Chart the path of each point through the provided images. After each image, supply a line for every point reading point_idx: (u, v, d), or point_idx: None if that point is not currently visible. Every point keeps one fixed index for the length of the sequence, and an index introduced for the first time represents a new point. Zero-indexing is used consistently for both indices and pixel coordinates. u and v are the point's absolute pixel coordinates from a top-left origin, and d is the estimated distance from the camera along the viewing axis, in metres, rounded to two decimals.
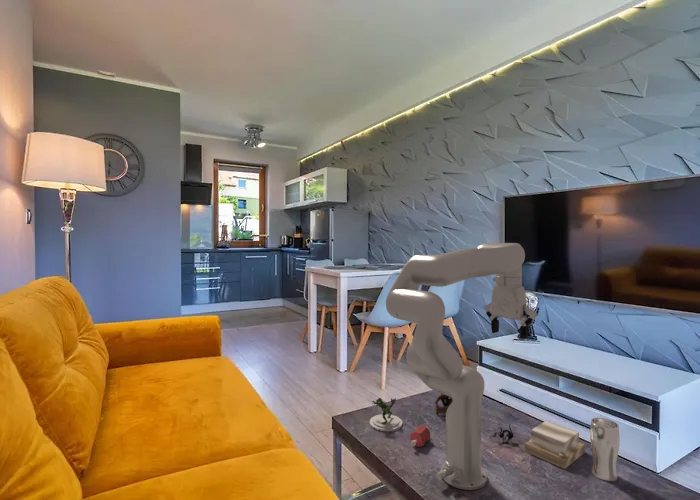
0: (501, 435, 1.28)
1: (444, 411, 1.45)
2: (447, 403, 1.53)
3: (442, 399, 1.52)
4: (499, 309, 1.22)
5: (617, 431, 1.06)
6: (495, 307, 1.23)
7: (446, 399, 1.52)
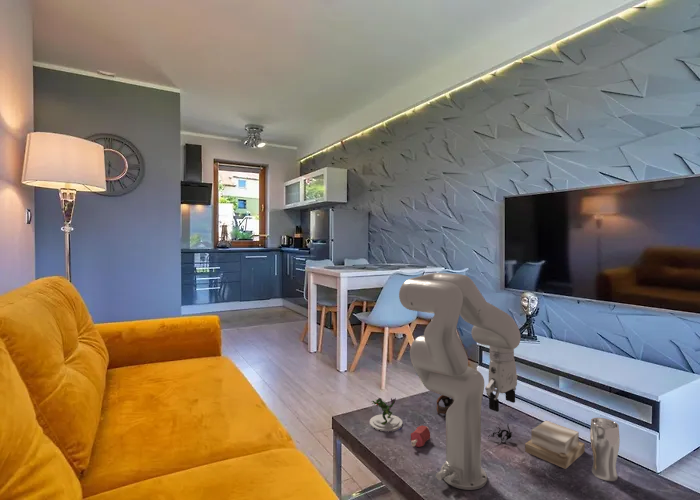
0: (499, 435, 1.28)
1: (445, 411, 1.45)
2: (448, 403, 1.53)
3: (443, 399, 1.52)
4: (507, 384, 1.25)
5: (617, 431, 1.06)
6: (504, 384, 1.24)
7: (447, 399, 1.52)
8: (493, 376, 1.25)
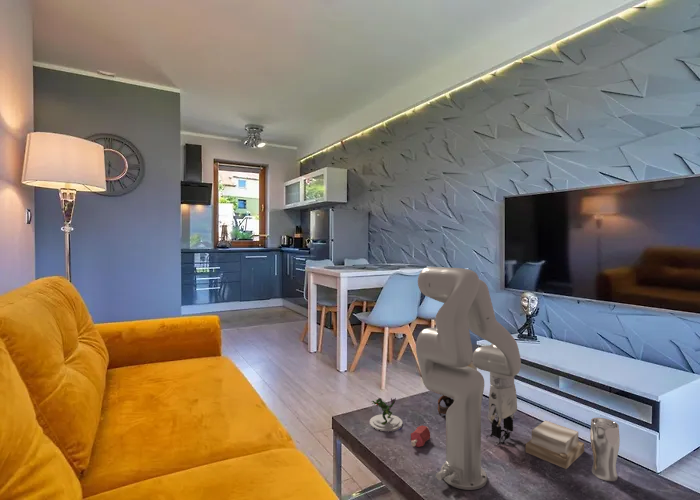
0: None
1: None
2: (449, 403, 1.53)
3: (444, 399, 1.52)
4: (507, 410, 1.25)
5: (617, 431, 1.06)
6: (504, 410, 1.24)
7: (448, 399, 1.52)
8: (493, 403, 1.25)
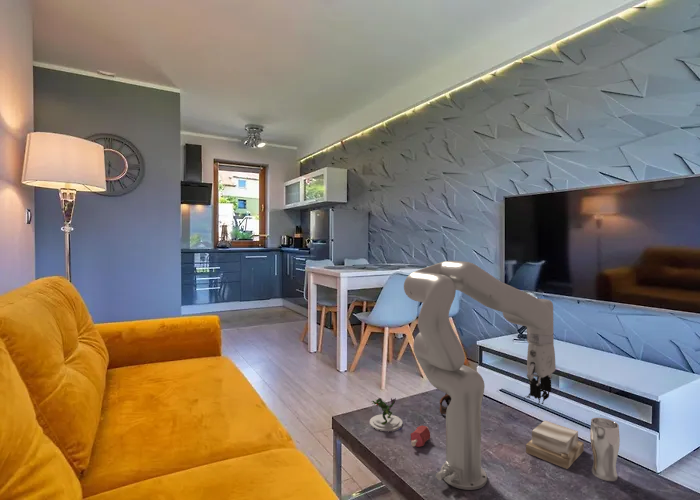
0: None
1: None
2: None
3: (446, 399, 1.52)
4: (547, 368, 1.19)
5: (617, 431, 1.06)
6: (544, 368, 1.19)
7: (450, 399, 1.52)
8: (532, 361, 1.19)
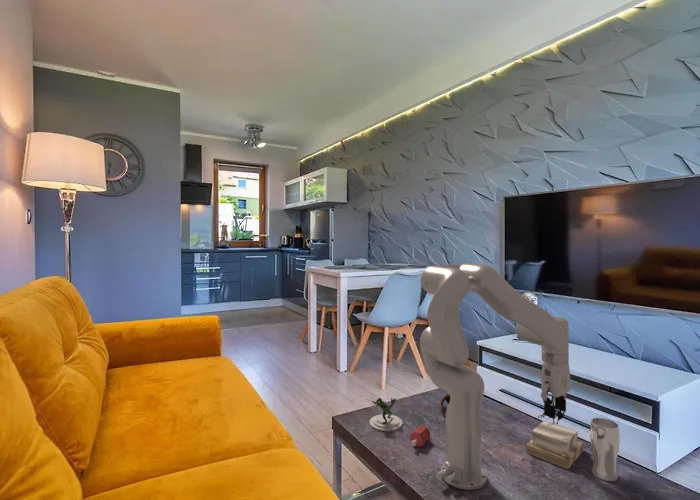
0: None
1: None
2: None
3: (447, 400, 1.52)
4: (561, 388, 1.18)
5: (617, 431, 1.06)
6: (559, 388, 1.17)
7: None
8: (547, 381, 1.18)
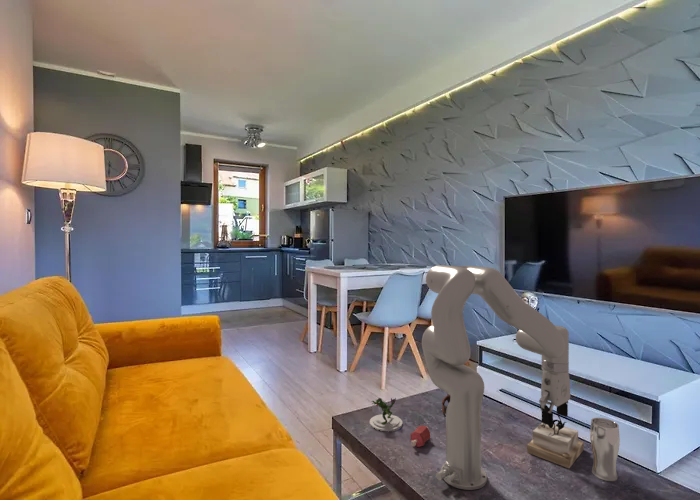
0: None
1: None
2: None
3: (448, 400, 1.52)
4: (561, 397, 1.18)
5: (617, 431, 1.06)
6: (559, 397, 1.17)
7: None
8: (547, 388, 1.18)
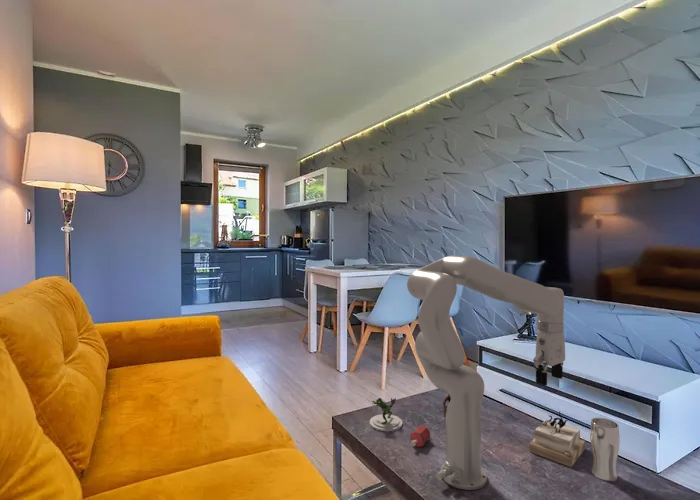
0: (552, 423, 1.22)
1: None
2: None
3: (449, 400, 1.52)
4: (556, 357, 1.18)
5: (617, 431, 1.06)
6: (553, 356, 1.17)
7: None
8: (541, 348, 1.18)
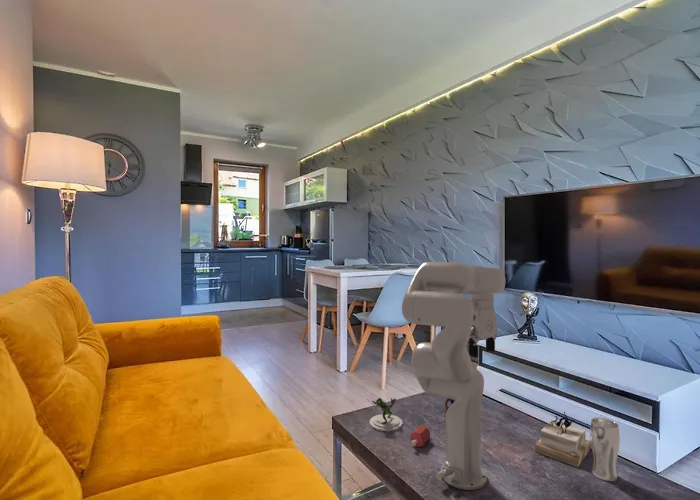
0: (558, 424, 1.22)
1: None
2: None
3: (451, 400, 1.52)
4: (486, 331, 1.28)
5: (617, 431, 1.06)
6: (483, 330, 1.27)
7: None
8: (473, 323, 1.28)
